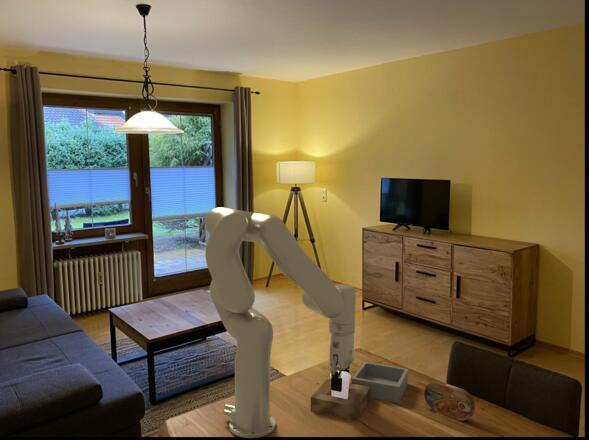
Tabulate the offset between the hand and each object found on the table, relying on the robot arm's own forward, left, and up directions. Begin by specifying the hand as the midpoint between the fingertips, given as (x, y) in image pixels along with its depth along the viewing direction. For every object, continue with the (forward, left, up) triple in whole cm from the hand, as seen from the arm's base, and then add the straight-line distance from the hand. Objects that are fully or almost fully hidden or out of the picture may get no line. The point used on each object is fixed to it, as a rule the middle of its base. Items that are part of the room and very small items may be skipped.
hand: (340, 385), depth 141 cm
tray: (+8, +16, -6) cm, 19 cm away
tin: (+30, +8, -6) cm, 32 cm away
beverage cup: (0, 0, -6) cm, 6 cm away
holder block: (0, 0, -6) cm, 6 cm away
